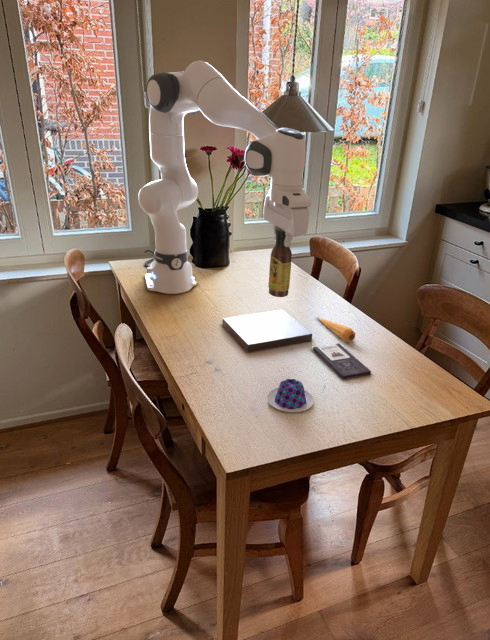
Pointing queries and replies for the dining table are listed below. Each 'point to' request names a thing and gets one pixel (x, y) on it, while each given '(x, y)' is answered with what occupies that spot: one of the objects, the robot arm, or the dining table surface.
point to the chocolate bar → (341, 361)
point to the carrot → (340, 330)
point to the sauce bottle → (280, 267)
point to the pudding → (290, 396)
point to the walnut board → (266, 330)
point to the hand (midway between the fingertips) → (282, 243)
